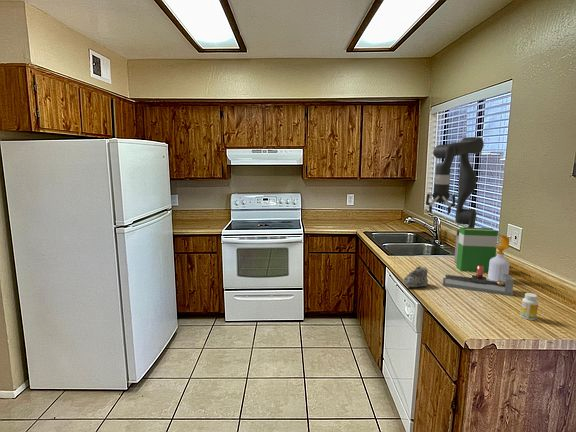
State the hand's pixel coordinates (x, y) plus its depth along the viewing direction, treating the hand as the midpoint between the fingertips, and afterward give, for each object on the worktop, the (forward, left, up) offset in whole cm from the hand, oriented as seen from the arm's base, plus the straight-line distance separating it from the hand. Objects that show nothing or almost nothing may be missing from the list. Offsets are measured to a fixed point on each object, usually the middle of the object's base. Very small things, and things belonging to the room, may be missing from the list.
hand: (439, 213), depth 187 cm
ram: (+14, +20, -32) cm, 40 cm away
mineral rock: (+24, -8, -34) cm, 43 cm away
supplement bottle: (+42, +37, -34) cm, 65 cm away
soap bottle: (-4, +31, -34) cm, 46 cm away
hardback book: (-18, +21, -34) cm, 44 cm away
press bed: (+14, +20, -34) cm, 41 cm away
